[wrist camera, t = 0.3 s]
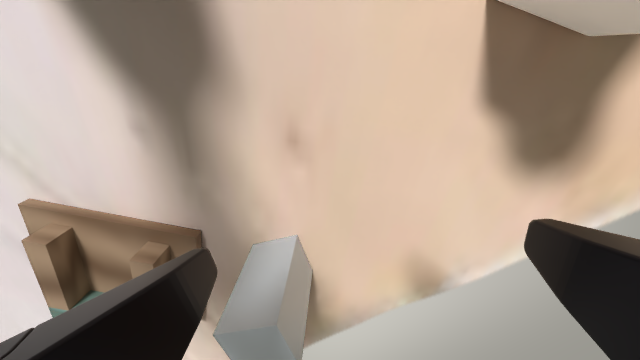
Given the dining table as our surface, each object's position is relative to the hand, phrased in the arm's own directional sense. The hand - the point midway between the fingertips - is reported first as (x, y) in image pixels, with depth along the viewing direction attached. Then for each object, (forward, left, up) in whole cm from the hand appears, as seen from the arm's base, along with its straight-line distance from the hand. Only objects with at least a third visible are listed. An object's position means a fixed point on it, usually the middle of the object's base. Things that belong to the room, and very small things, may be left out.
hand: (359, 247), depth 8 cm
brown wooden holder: (-5, -26, -14) cm, 30 cm away
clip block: (+5, -13, -14) cm, 20 cm away
